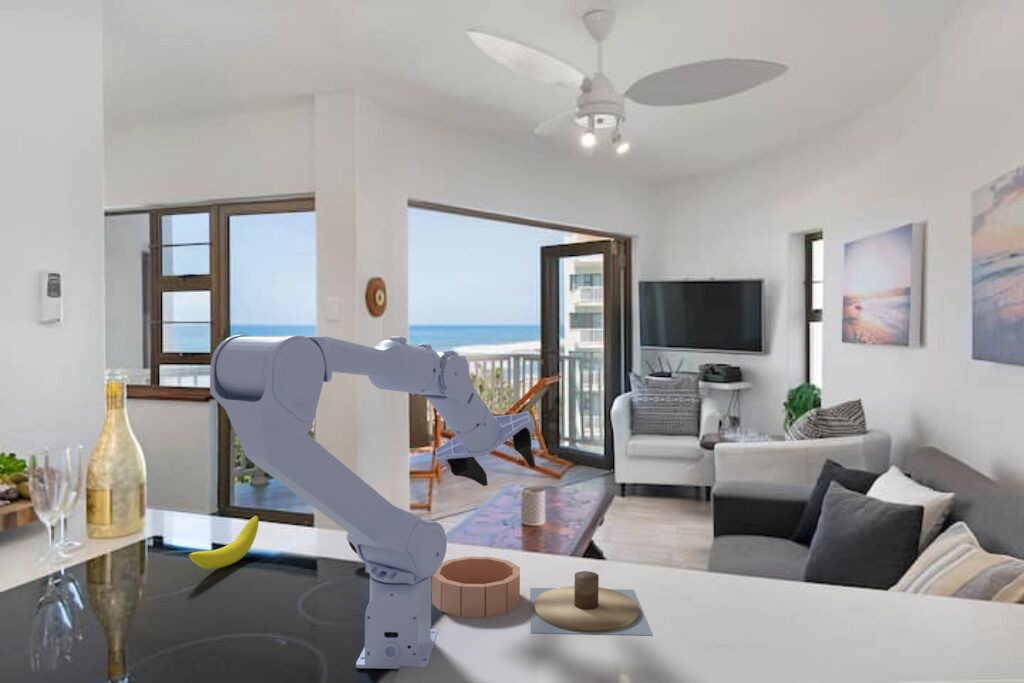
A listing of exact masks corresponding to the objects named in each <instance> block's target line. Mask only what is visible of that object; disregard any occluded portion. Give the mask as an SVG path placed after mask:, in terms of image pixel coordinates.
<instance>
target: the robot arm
mask: <svg viewBox="0 0 1024 683" xmlns="http://www.w3.org/2000/svg"><path fill="white" fill-rule="evenodd" d="M333 373H339V374H350V375H357V376H358V375H359V376H367V377H368V379H369V381H370V382H371V384H372V385H373V386H374V387H376V388H377V389H380V390H387V391H393V392H394V391H395V392H401V393H402V392H403V393H409V394H411V395H412V396H415V395H421V396H422V395H424V396H425V397H426V398H425V399H427V400H428V402H429V403H430V404H431V405H432V407H433V408H434V409H435V411H436V412H437V413H438V414H439V416H440V417H441V418H442V420H444V422H445V423H446V425H447V426H448V428H450V430H451V432H453V434H454V436H452V438H451V439H449V440H448V441H447V442H445V443H444V444H442V445H440V446H438V447H435V448H434V449H435V450H434V451H435V460H436V461H437V462H438V464H439V465H440V466H441V467H444V466H447V465H448V464H449V467H450V472H451V473H452V475H454V476H455V477H464V478H467V479H469V480H472V481H474V482H476V483H478V484H479V485H481V486H483V487H486V486H488V478H487V472H486V471H485V470H484V468H483V466H481V465H480V463H479V462H478V460H476V458H475V457H483V456H486V455H489V454H491V453H492V452H494V451H495V450H496V449H498V448H499V447H500V446H502V445H503V444H504V443H505V442H507V441H509V440H510V439H511V438H512V441H513V446H514V450H515V451H516V452H518V453H519V454H520V455H521V456H522V458H524V460H525V461H526V463H527V466H528V467H529V468H534V467H536V462H535V457H534V455H533V452H532V438H531V432H532V431H534V430H536V424H535V420H534V417H533V416H532V415H531V413H530V411H529V410H526V411H524V412H521V413H520V412H519V413H514V414H513V413H512V414H506V415H504V414H503V415H496V416H495V415H494V414H493V413H492V412H491V410H490V408H489V407H488V405H487V404H486V403H485V401H484V400H483V399H482V397H481V396H480V394H479V393H478V391H477V390H476V388H475V385H474V380H472V377H471V376H470V368H469V362H468V360H467V357H466V356H465V355H459V354H458V353H457V351H454V350H435V349H433V347H432V345H431V344H429V343H420V344H418V345H414V344H410V343H407V338H406V337H402V336H391V337H390V339H387V340H386V339H385V340H381V341H380V342H378V343H377V344H375V346H372V347H371V346H367V345H364V344H360V343H355V342H351V341H347V340H342V339H340V338H336V337H335V338H334V337H330V336H326V335H296V334H295V335H262V336H261V335H260V336H251V335H246V334H236V335H235V334H234V335H232V336H229V337H227V338H226V339H224V340H223V341H221V342H220V343H219V344H218V345H217V347H216V349H215V350H214V352H213V354H212V356H211V360H210V375H209V376H210V377H209V378H210V379H209V382H210V383H209V384H210V385H209V394H210V395H211V396H212V397H213V398H214V399H215V401H217V402H218V404H220V405H221V407H223V409H224V410H225V412H226V414H227V417H228V418H229V421H230V424H231V425H232V428H233V430H234V432H235V436H236V438H237V439H238V442H239V444H240V446H241V449H242V451H243V453H244V455H245V457H246V458H247V459H248V460H249V461H250V462H251V463H253V464H254V465H255V466H256V467H258V468H260V469H261V470H262V471H264V472H265V473H267V475H269V476H270V477H272V478H273V479H275V480H276V481H277V482H279V483H280V484H281V485H283V486H284V487H286V488H287V489H288V490H290V491H291V492H293V493H294V494H295V495H296V496H298V497H299V498H301V499H302V500H304V501H305V502H306V503H308V504H309V505H311V506H312V507H313V508H315V509H316V510H317V511H319V512H320V513H322V514H323V515H324V516H325V517H327V518H328V519H330V520H331V521H332V522H334V523H335V524H337V525H338V526H340V527H341V528H342V529H344V530H345V531H346V532H347V533H346V540H347V541H348V542H349V541H350V542H351V543H352V544H353V545H354V547H355V549H356V551H357V553H356V554H357V556H358V558H359V559H360V560H361V561H362V562H363V563H365V571H364V572H365V573H368V574H369V602H368V605H367V606H366V610H365V613H364V647H363V649H362V651H361V653H360V655H359V657H358V658H357V660H356V663H355V667H356V668H357V669H382V670H383V669H384V670H386V669H388V670H389V669H390V670H399V669H400V667H409V668H410V667H415V668H416V667H417V668H418V667H419V668H420V667H421V668H423V667H427V666H428V665H429V662H430V658H431V655H432V651H433V648H434V645H435V643H436V642H435V641H436V637H437V635H438V629H435V628H432V575H434V574H436V571H437V570H438V568H439V567H440V565H441V564H442V563H443V561H444V559H445V557H446V555H447V554H446V552H447V546H448V543H447V541H448V540H447V535H446V531H445V529H444V527H443V526H442V524H440V522H437V521H432V520H426V521H425V520H424V519H422V518H421V516H418V515H417V514H414V513H413V512H412V513H411V512H410V511H407V510H405V509H403V508H400V507H398V506H395V505H393V503H392V502H390V501H389V500H387V498H385V497H384V496H383V495H382V494H380V493H379V492H378V491H377V490H376V489H374V488H373V487H372V486H371V485H369V484H368V483H367V482H366V481H365V480H364V479H362V478H361V477H360V476H358V475H357V473H355V472H354V471H352V469H351V468H349V467H348V466H346V464H344V463H343V462H341V460H339V459H338V458H337V457H335V455H333V454H332V452H330V451H329V450H328V449H326V448H325V447H324V446H323V445H322V444H320V443H319V442H318V441H316V440H315V439H314V438H313V437H312V436H310V434H309V433H310V432H311V431H312V429H313V424H314V421H315V417H316V413H317V409H318V405H319V401H320V398H321V392H322V390H323V384H324V383H328V382H331V380H332V378H333Z"/></svg>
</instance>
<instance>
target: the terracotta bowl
mask: <svg viewBox="0 0 1024 683" xmlns="http://www.w3.org/2000/svg"><path fill="white" fill-rule="evenodd" d="M520 580H521V567H520V566H518V565H516V564H515V563H513V562H512V561H510V560H507V559H501V558H499V557H498V558H497V557H492V556H463V557H458V558H453V559H452V558H451V559H447V560H445V561H444V562H442V564H441V565H440V567H439V568H438V570H437V571H436V574H434V575H432V576H431V605H434V607H436V609H437V610H439V611H440V612H442V613H444V614H449V615H453V616H457V617H461V618H485V617H486V618H489V617H494V616H498V615H502V614H507V613H509V612H510V611H512V610H514V609H515V608H516V607H518V606H520V592H521V588H520V587H521V583H520Z"/></svg>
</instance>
